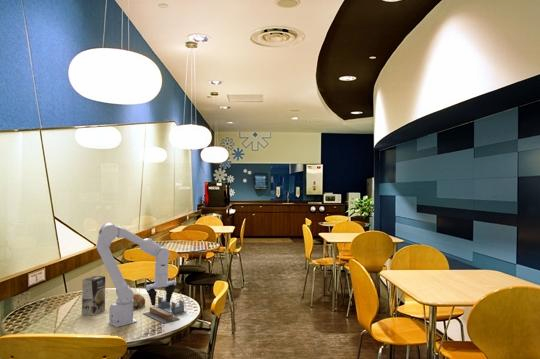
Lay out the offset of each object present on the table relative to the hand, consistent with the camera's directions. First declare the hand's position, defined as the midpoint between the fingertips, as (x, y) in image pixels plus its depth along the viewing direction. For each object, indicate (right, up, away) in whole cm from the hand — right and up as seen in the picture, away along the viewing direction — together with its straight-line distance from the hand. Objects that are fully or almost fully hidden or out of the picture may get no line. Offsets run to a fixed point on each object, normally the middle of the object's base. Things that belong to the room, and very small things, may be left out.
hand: (160, 303), depth 183 cm
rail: (0, -6, 0) cm, 6 cm away
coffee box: (-33, -6, +6) cm, 34 cm away
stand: (+2, -6, +10) cm, 12 cm away
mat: (0, -6, 0) cm, 6 cm away
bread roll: (-17, -7, +15) cm, 23 cm away
